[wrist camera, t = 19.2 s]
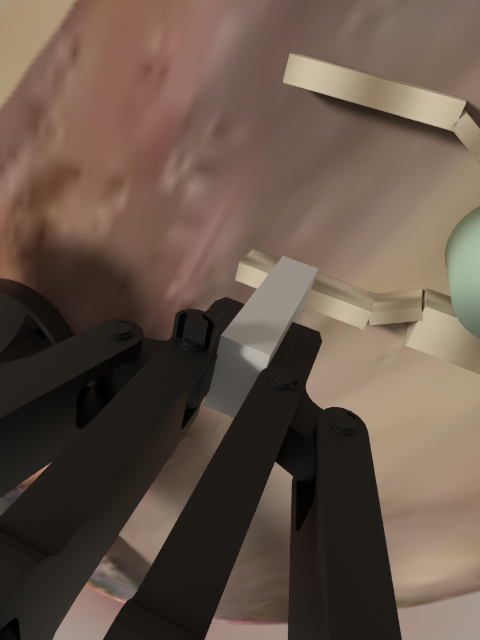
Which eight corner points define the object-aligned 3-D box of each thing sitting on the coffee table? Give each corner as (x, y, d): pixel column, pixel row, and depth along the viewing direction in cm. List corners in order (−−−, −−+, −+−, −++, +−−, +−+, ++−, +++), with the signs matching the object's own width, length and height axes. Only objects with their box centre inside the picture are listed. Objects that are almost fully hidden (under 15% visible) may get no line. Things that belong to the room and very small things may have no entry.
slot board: (248, 265, 36) (230, 285, 33) (302, 54, 28) (285, 53, 25) (546, 377, 32) (558, 412, 29) (711, 165, 24) (755, 181, 21)
